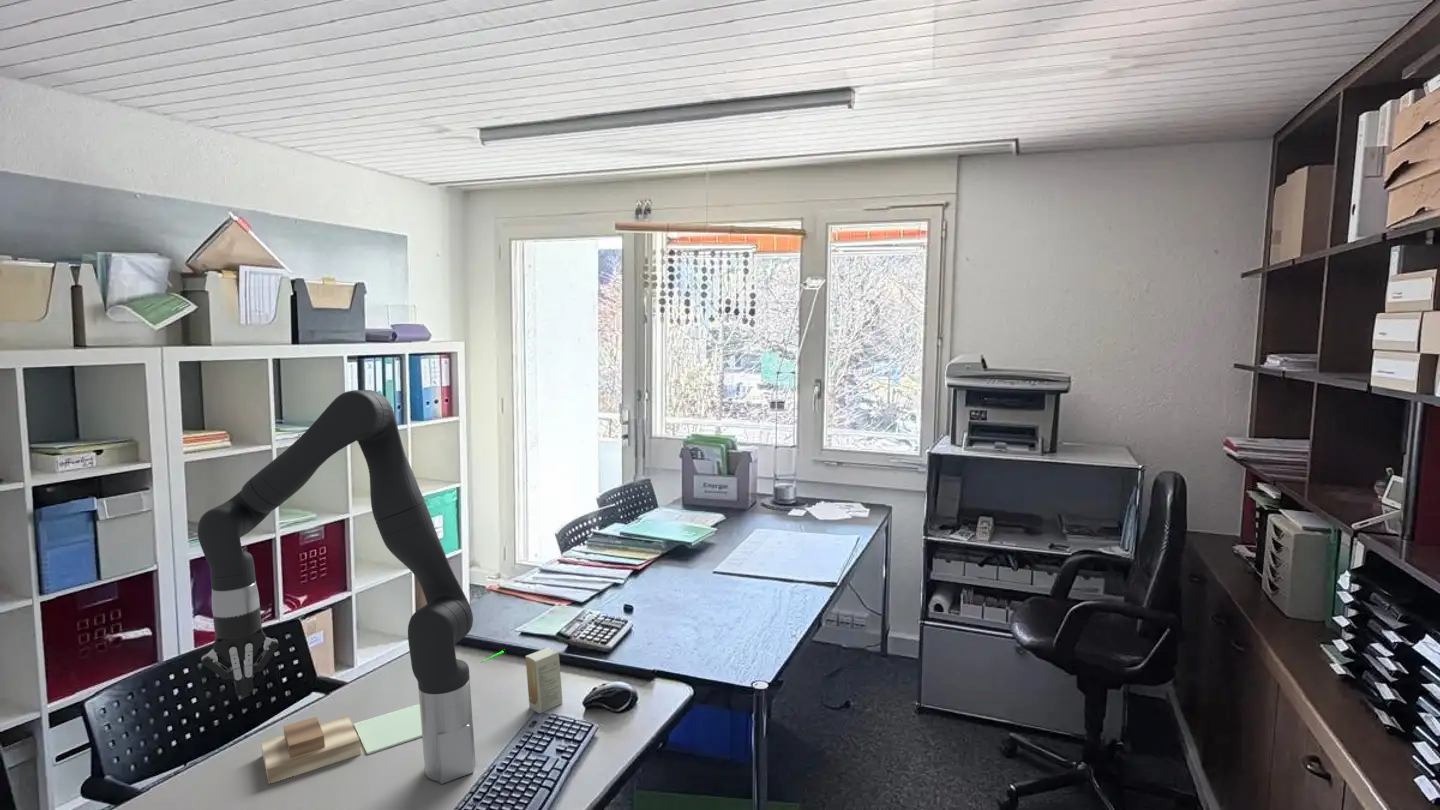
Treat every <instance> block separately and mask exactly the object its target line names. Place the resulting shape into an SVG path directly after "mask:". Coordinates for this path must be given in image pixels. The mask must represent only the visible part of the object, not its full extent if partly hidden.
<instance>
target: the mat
mask: <svg viewBox="0 0 1440 810" xmlns="http://www.w3.org/2000/svg"><path fill="white" fill-rule="evenodd" d="M353 727H354V729H355V731H357V732H356V733H358V734H357V736H358V738H359V740H360V743H361V744H362V747H363V749H364V751H365V753H366V755H371V754H373V753H377V752H380V751H382V750H386V749H388V748H392V747H396V746H399V745H401V744H404V743H407V742H410V741H413V740H416V739H417V740H418V739H420V738H422V728H421V716H420V703H417V704H414V705H410V706H407V707H404V708H401V709H398V710H397V709H396V710H395V711H391V712H388V713H384V714H381V715H378V716H374V717H371V718H368V719H365V720H362V721H359V722H355V723H353Z"/></svg>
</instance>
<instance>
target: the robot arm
mask: <svg viewBox="0 0 1440 810" xmlns="http://www.w3.org/2000/svg"><path fill="white" fill-rule="evenodd" d="M391 404H392V403H390V401H389V399H388V398H387V397H386V396H384V395H383V394H382V393H380V392H379V391H375V390H372V389H353V390H348V391H345V392H342V393H341V394H339V395H338V396H337V397H336V398H334V399H333V400H332V402H331V403H330V404H329V405H328V406H327V407H326V409H325V410H324V411H322V413H321V414H320V415H319V416H318V418H316V420H315V421H314V423H312V424H311V425H310V427H309V428H308V429H306V431H305V432H303V434H301V436H299V438H298V439H296V441H295V442H293V443H292V444H291V445H290V446H289V447H288V448H287V449H285V450H284V451H283V452H282V453H280V454H279V455H278V456H277V457H275V458H274V459H273V460H271V462H269V463H268V464H266V466H264V467H263V468H261V469H260V471H258V472H256V474H255V475H253V476H252V477H251V478H250V479H248V481H246V483H244V485H243V486H242V488H241V490H240V491H239V492H237V493H236V494H235V495H234V496H232V497H231V498H230V499H228V500H227V501H225V502H224V503H222V504H220V505H217V506H216V507H215V506H214V507H213V508H211V509H209V510H207V511H206V512H205V513H204V514H203V515H201V517H200V519H199V521H198V525H197V538H198V541H199V545H200V547H201V550H202V552H203V555H204V558H205V560H206V562H207V564H208V565H209V572H210V573H209V574H210V575H209V576H210V583H211V584H210V585H211V612H212V618H213V627H214V628H213V630H214V642H213V644H212V649H211V650H210V651H209V652H208V653H205V654H202V656H201V664H202V665H203V666H205V668H207V669H208V670H210V671H211V672H213V673H214V674H216V675H217V676H218V677H220V678H222V679H223V680H233V681H234V688H235V695H236V696H237V697H238V696H239V697H240V698H241V699H243V698H247V697H250V693H253V692H254V681H253V676H254V675H255V674H256V673H259V672H262V671H263V670H264V668H265V666H267V664H268V663H269V661H270V659H271V658H272V656H273V655H274V654H275V652H276V651H277V650H278V648H279V646H280V645H279V640H278V639H277V638H271V637H267V635H266V632H265V631H264V630H263V623H262V616H261V604H260V595H259V590H258V588H259V587H258V586H257V576H256V571H255V570H256V567H255V562H254V557H253V555H252V553H250V552H249V551H246V550H243V546H242V543H241V537H244V536H246V535H247V534H249V533H250V532H251V531H253V530H254V529H255V528H256V527H257V526H259V524H260V523H262V522H263V520H265V519H266V518H267V516H268V515H270V514H271V512H272V511H274V510H275V509H277V508H278V507H280V506H281V505H282V504H283V503H285V502H286V501H287V500H288V499H289V498H291V497H292V496H293V495H294V494H296V493H297V492H298V491H299V490H300V489H302V488H303V487H304V485H306V484H307V482H308V481H309V480H310V479H311V478H312V476H313V475H314V474H315V473H316V471H317V470H318V469H319V468H320V467H321V466H322V465H323V464H324V463H325V462H326V461H328V460H329V458H331V457H332V456H333V455H334V454H336V453H338V452H339V451H340V450H342V449H345V447H347V446H349V445H351V444H353V443H354V442H356V441H357V443H358V445H359V449H360V450H361V453H362V455H363V457H364V459H365V461H366V465H367V469H368V474H369V492H370V505H371V512H372V515H373V519H374V521H375V524H376V526H377V529H378V531H379V534H380V536H381V539H382V541H383V543H384V545H385V547H386V548H387V549H388V550H389V551H390V553H391V554H392V555H393V556H394V557H395V558H396V559H397V560H398V561H399V562H401V563H402V564H403V565H404V566H405V567H406V568H408V569H409V570H410V572H411V573H412V574H413V575H414V576H415V578H416V579H417V581H418V583H419V586H420V588H421V590H422V592H423V595H424V598H425V601H426V604H425V605H424V606H422V607H420V608H419V609H418V610H416V611H415V612H414V613H413V614H412V615H411V617H410V618H409V621H408V625H407V640H408V647H409V648H408V649H409V655H410V664H411V669H412V673H413V675H414V677H415V679H416V681H417V687H418V699H419V701H418V702H419V704H420V716H421V728H422V737H421V739H422V740H421V741H422V750H423V751H422V753H423V761H424V774H425V776H426V778H428V779H429V780H432V781H434V782H435V781H436V782H439V783H440V784H441V785H442V784H445V783H448V782H451V781H453V780H457V779H459V778H462V777H464V776H467V775H470V774H473V773H474V772H475V769H474V767H475V766H476V762H477V761H476V748H475V735H474V723H473V721H474V720H473V711H472V710H473V709H472V694H471V679H470V667H469V665H468V663H467V662H466V661H464V660H462V659H457V656H456V647H455V645H456V644H457V643H460V641H461V640H462V639H464V638H465V637H466V636H468V634H469V633H470V631H471V630H472V627H473V623H474V616H473V615H474V614H473V611H472V608H471V604H470V603H469V601H468V598H467V596H466V594H465V592H464V591H463V588H462V587H461V585H460V583H459V581H458V579H457V577H456V575H455V573H454V572H453V570H452V567H451V565H450V563H449V561H448V558H447V555H446V553H445V550H444V548H443V545H442V543H441V540H440V539H439V536H438V534H437V531H436V528H435V524H434V522H433V519H432V516H431V514H430V511H429V509H428V506H427V504H426V501H425V499H424V496H423V494H422V491H421V489H420V487H419V485H418V482H417V479H416V477H415V474H414V471H413V470H412V467H411V465H410V462H409V460H408V458H407V455H406V453H405V452H406V451H405V449H404V446H403V443H402V438H401V436H400V431H399V428H398V424H397V423H398V422H397V418H396V415H395V411H394V409H393V406H392V405H391ZM262 647H263V651H262V652H261V654H260V655H259V657H258V658H257V659H256V660H255V662H254V663H253V661H254V659H253V658H254V657H255V656H256V655H257V654H258V653H259V651H260V649H261V648H262ZM218 656H220V657H221V658H222V659H223V660H225V661H226V662H228V663H231V668H232V669H229V668H228V667H226V666H225V665H223V664H222V663H221V662H219V661H218V660H219V659H218ZM241 661H243V673H242V669H241V665H240V662H241Z"/></svg>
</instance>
